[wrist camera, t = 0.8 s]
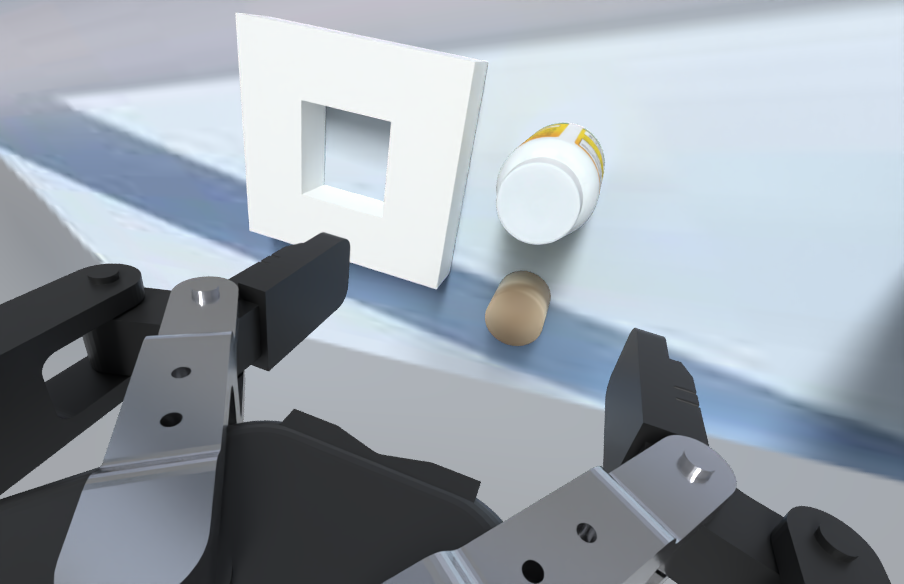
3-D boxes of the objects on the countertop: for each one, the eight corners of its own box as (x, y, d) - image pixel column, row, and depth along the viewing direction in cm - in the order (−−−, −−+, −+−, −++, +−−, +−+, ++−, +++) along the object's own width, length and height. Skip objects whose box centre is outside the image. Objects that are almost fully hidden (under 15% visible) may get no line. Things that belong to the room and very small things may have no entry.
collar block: (488, 61, 28) (475, 62, 26) (449, 272, 36) (436, 289, 33) (266, 15, 31) (235, 12, 29) (273, 219, 39) (249, 230, 36)
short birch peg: (557, 279, 33) (549, 305, 30) (542, 324, 35) (534, 353, 32) (504, 264, 34) (491, 287, 31) (493, 308, 36) (480, 335, 33)
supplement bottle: (619, 138, 28) (618, 172, 20) (583, 217, 31) (569, 275, 23) (537, 108, 29) (503, 130, 21) (508, 188, 31) (469, 234, 23)
